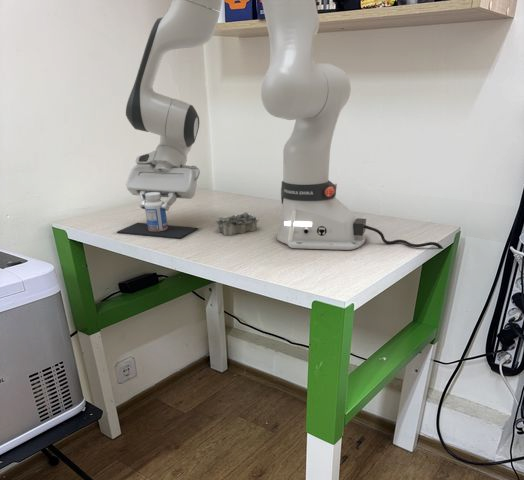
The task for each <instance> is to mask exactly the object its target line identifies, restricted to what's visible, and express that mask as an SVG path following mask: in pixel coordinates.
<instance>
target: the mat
mask: <svg viewBox="0 0 524 480" xmlns="http://www.w3.org/2000/svg"><path fill="white" fill-rule="evenodd" d="M167 226H168V228H167V229H166V230H164V231H159V232H152V231H149V230H148V225H147V222H136V223H134V224H132V225H130V226H126V227H124V228H122V229H119V230H117V231H116V233H117V234H122V235H123V234H125V235H135V236H145V237H157V238H166V239H177V240H181V239H183V238H185V237H186V236H188V235H190V234H193V233H194V232H195V231H198V230H199V227H196V226H195V227H193V226H182V225H171V224H167Z"/></svg>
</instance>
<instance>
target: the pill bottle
mask: <svg viewBox="0 0 524 480" xmlns="http://www.w3.org/2000/svg"><path fill="white" fill-rule="evenodd" d="M145 196H146V201H147V202H146V203H145V204H144V206H145V209H144V213H145V217H146V218H145V219H146V223H147V225H148V230H149V231H152V232H159V231H164V230H166V229H167V228H168V226H167V225H168V219H167V218H168V217H167V213H166V212H167V211H164V210H163V209H162V208H161V205H162V202H164V201H163V200H161V199H162V197H161V195H160V193H159V192H150V193H146V194H145Z"/></svg>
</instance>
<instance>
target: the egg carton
mask: <svg viewBox="0 0 524 480" xmlns="http://www.w3.org/2000/svg"><path fill="white" fill-rule="evenodd" d="M258 221H260V219H257V218H256V216H254V215H252V214H249V213H248V212H247V211H246V212H244V213H240V214H237V215H234V214H233V215H232V216H231V215H230V216H227V217H217V219H216V220H215V221H214V222H215V223H216V229H217V232H218V233H223V235H224V236H234V235H235V234H244V233H246V232H248V231H250V232H256V230H257V229H258V227H257V226H258Z"/></svg>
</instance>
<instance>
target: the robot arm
mask: <svg viewBox="0 0 524 480" xmlns="http://www.w3.org/2000/svg"><path fill="white" fill-rule="evenodd" d="M222 3H223V0H172V1H171V4H170V7H169V9H168V10H167V12H166V14H165V15H164V16H163V17H159V18H156V20H155V22H154V24H153V25H152V27H151V30H150V32H149V36H148V39H147V42H146V45H145V46H144V47H145V48H144V50H143V55H142V57H141V61H140V64H139V67H138V71H137V75H136V77H135V80H134V82H133V86H132V89H131V90H130V93H129V95H128V96H129V97H128V99H127V100H126V101H127V102H126V106H125V117H126V119H127V120H128V122H129V123H130V125H131V126H132V127H133V129H135V130H136V131H142V132H144V133H145V132H146V133H151V134H153V135H154V134H155V135H158V136H160V139H159V143H158V145H157V146H156V148H155V150H153V151H150V152H148V153H145V154H141V155H138V156H136V158H135V165H134V166H133V167H132V169H130V172H129V175H128V177H127V180H126V184H125V186H126V189H127V191H128V192H129V193H130V194H132V196H139V198H140V199H139V200H140V203H139V207H140V209H141V210H145V206H144V204H145V203H146V202H147V200H146V196H145V194H146V193H150V192H159V193H160V195H161V198H167V199H166V200H165V201H163V202H162V205H161V208H162V209H163V210H164V211H166V212H169V211H170V208H171V206H172V205H173V204H174V203H176V202H177V199H185V200H187V199H188V200H190V199H192V198H194V196H195V195H196V191H197V186H198V179H199V178H200V174H201V171H200V169H199V167H197V166H196V165H186V164H187V161H188V154H189V153H190V151H191V150H192V146H193V144H194V143H195V142H196V139H197V135H198V133H199V129H200V116H199V114H198V112H197V110H196V108H195V107H194V106H193V105H192V104H190V103H188V102H186V101H183V100H181V99H177V98H172V97H170V96H167V95H164V94H162V93H158V92H156V91H155V90H154V87H153V86H154V84H155V80H156V78H157V74H158V72H159V68H160V66H161V62H162V60H163V57H164V56H165V55H166V53H168V52H170V51H174V50H179V49H180V50H181V49H192V48H196V47H200V46H203V45H205V44H206V43H208V42H209V41H210V40H211V39H212V38H213V36H214V35H215V33H216V29H217V26H218V22H219V18H220V14H221V7H222ZM261 3H262V4H261V5H262V8H263V14H264V18H265V22H266V27H267V28H266V29H267V33H268V38H269V63H268V64H269V65H268V69H267V72H266V73H265V75H264V76H263V78H262V81H261V86H260V98H261V99H260V100H261V102H262V105H263V107H264V109H265V110H266V112H267V113H268V114H269V115H270V116H273V117H275V118H278V119H282V120H287V121H295V122H294V126H293V129H292V132H291V134H290V136H289V138H288V139H287V140H286V141H285V144H284V146H283V150H282V160H283V161H282V177H283V178H282V179H283V180H282V181H281V187H280V200H281V204H282V205H281V206H282V207H281V215H280V223H279V227H278V231H277V235H276V239H277V240H278V241H279V242H281V243H283V244H285V245H287V246H288V247H289V248H290V249H309V250H337V251H338V250H340V251H352V250H355V249H356V250H357V249H358V248H360V247H362V246H363V244H364V243H365V242H366V234H365V232H366V230H369V231H372V232H375V233H377V234H378V235H379V236H380V239H381V240H382V242H383V243H384V244H385V245H394V244H399V243H400V244H401V243H402V244H405V245H406V246H408V247H411V248H422V247H429V246H435V247H437V248H438V249H441V250H443V249H444V247H443V246H442V245H441V244H440V243H438V242H434V241H429V242H422V243H411V242H409V241H407V240H404V239H395V240H387V239H386V238H385V236H384V234H383V232H382V231H381V230H379V229H377V228H375V227H372V226H369V225H367V218H362V217H361V218H360V217H359V218H358V217H356V215H355V212H353V210H351V209H350V208H349V207H347V206H346V205H345V204H344V203H343V202H341V201H340V200H339V198H337V197H336V196H337V189H338V183H333V182H332V181H331V180H329V178H330V177H329V176H330V175H329V174H330V159H331V158H330V157H331V149H332V148H331V147H332V141H333V136H334V133H335V130H336V126H337V123H338V120H339V118H340V114H341V112H342V110H343V109H344V107H345V106H346V105H347V103H348V101H349V99H350V95H351V81H350V78H349V76H348V74H347V72H345V70H344V69H342V68H340V67H338V66H336V65H334V64H332V63H329V62H315V59H314V39H315V37H316V35H317V33H318V32H319V28H320V18H319V12H318V7H317V2H316V0H261Z"/></svg>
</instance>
